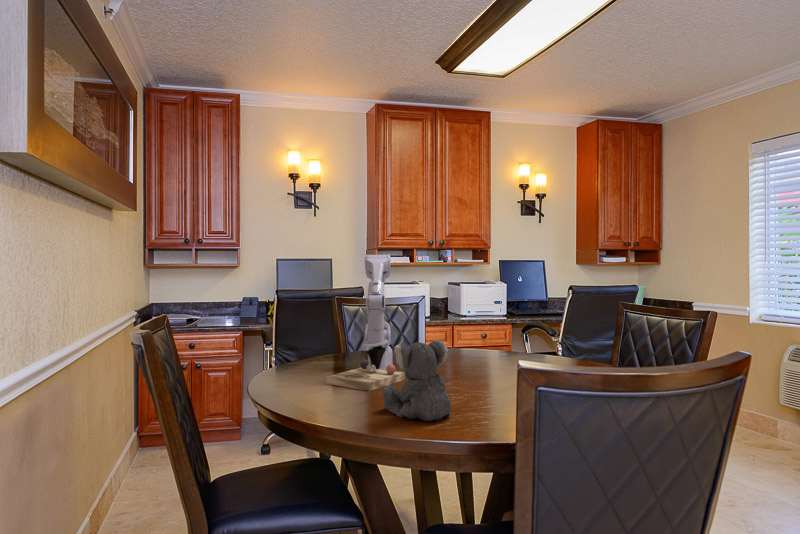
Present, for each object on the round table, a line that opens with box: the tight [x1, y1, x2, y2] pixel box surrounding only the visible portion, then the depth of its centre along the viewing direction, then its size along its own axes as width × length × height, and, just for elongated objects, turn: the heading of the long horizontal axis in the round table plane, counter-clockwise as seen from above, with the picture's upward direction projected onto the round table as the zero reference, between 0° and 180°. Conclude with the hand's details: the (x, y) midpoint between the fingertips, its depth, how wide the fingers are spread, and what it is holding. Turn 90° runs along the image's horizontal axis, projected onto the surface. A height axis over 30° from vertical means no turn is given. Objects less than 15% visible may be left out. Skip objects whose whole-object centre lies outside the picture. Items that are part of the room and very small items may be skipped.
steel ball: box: [367, 364, 376, 373], centre depth 178 cm, size 3×3×3 cm
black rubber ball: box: [359, 359, 369, 369], centre depth 185 cm, size 3×3×3 cm
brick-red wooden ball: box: [386, 363, 397, 374], centre depth 176 cm, size 3×3×3 cm
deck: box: [326, 367, 406, 392], centre depth 176 cm, size 20×18×2 cm
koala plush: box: [382, 338, 452, 422], centre depth 137 cm, size 17×18×20 cm
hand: (376, 368), depth 180 cm, fingers closed
